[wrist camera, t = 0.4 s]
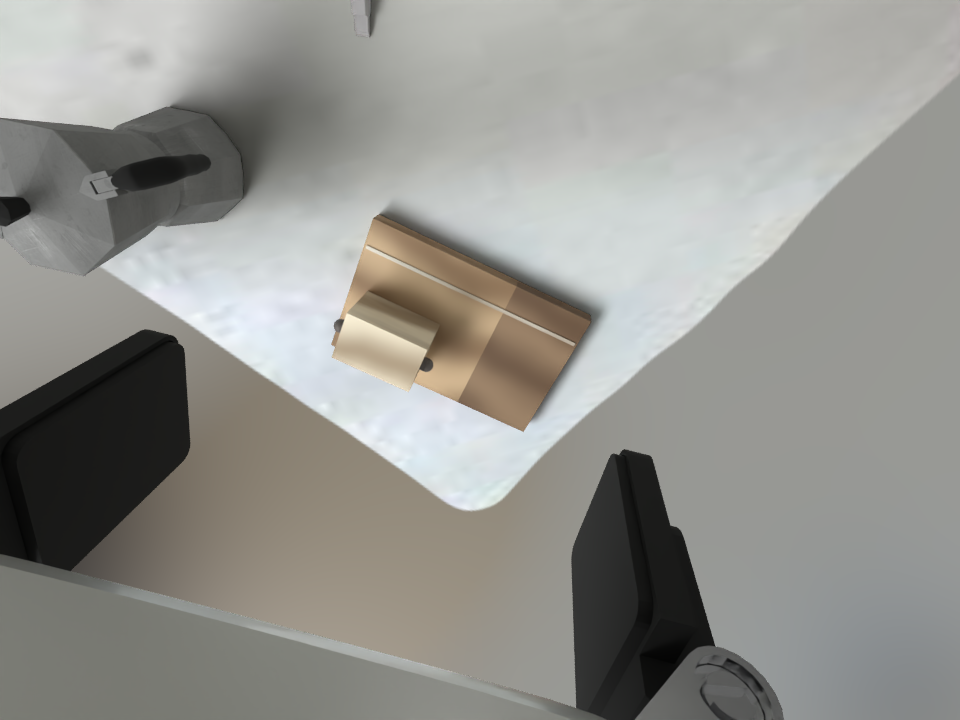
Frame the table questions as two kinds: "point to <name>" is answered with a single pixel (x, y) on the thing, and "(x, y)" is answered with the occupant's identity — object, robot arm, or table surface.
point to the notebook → (471, 322)
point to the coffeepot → (110, 184)
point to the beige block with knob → (385, 340)
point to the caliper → (361, 16)
